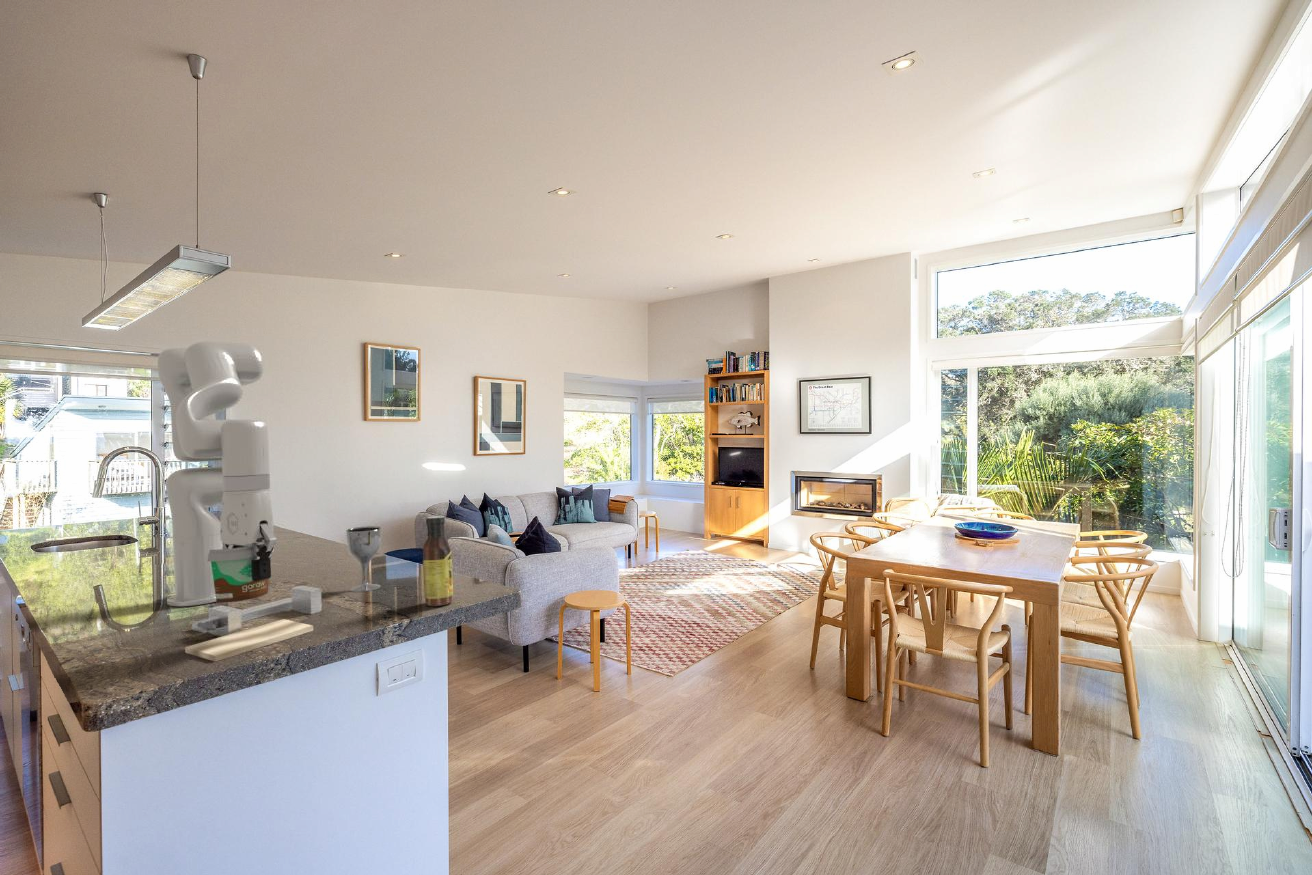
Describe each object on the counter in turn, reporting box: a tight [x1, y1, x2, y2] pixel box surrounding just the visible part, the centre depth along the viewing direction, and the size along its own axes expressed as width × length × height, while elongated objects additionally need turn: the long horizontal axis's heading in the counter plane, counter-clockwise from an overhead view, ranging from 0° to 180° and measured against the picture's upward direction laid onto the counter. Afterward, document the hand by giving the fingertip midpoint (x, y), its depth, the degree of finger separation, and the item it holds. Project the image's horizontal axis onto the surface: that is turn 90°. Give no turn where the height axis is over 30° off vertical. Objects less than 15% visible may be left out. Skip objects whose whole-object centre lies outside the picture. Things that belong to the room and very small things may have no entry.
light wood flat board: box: [184, 618, 314, 663], centre depth 120 cm, size 10×18×1 cm, turn 152°
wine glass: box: [345, 525, 382, 593], centre depth 158 cm, size 8×8×15 cm
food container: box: [208, 546, 275, 604], centre depth 120 cm, size 12×6×10 cm, turn 168°
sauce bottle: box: [422, 515, 454, 607], centre depth 143 cm, size 6×6×20 cm
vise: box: [191, 585, 323, 637], centre depth 132 cm, size 12×22×5 cm, turn 152°
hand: (250, 577), depth 120 cm, fingers closed on food container, 6 cm apart
